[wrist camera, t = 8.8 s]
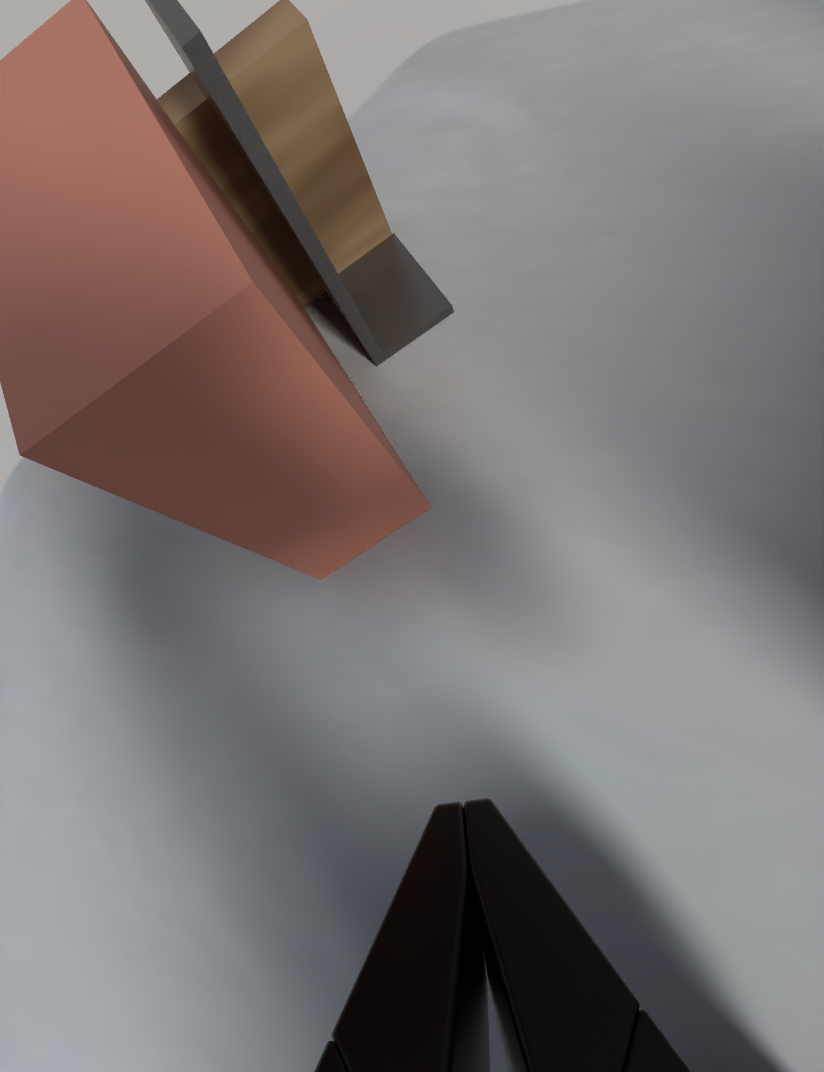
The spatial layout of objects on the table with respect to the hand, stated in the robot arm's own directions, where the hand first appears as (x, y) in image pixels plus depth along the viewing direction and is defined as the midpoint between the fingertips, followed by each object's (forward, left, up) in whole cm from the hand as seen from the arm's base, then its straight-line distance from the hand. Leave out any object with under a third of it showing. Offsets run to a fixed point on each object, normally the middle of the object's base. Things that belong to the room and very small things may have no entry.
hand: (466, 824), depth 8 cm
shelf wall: (+18, +18, -12) cm, 28 cm away
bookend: (+18, +12, -12) cm, 25 cm away
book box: (+10, +14, -13) cm, 21 cm away
